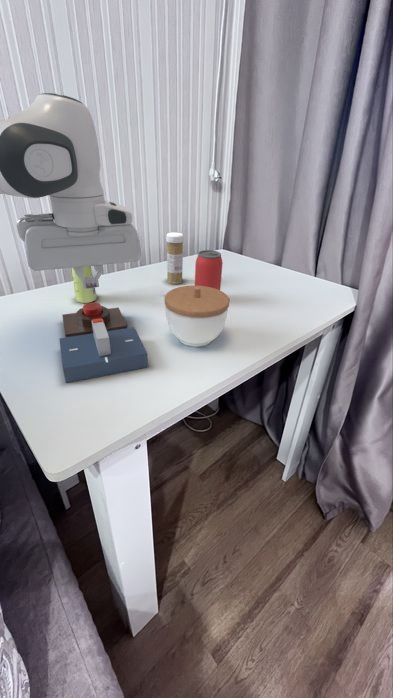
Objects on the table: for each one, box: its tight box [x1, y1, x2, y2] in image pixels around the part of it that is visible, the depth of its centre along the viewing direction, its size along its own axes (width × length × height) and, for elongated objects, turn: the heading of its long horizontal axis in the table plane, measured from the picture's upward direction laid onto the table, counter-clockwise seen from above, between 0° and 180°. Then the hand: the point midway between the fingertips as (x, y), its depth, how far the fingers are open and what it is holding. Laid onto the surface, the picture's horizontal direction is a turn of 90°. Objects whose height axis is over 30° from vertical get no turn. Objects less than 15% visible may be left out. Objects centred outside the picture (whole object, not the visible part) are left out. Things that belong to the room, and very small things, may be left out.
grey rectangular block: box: [92, 318, 111, 356], centre depth 59 cm, size 7×2×4 cm, turn 22°
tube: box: [71, 266, 98, 304], centre depth 78 cm, size 6×5×20 cm
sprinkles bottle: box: [165, 231, 184, 285], centre depth 91 cm, size 5×5×14 cm
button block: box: [61, 305, 128, 338], centre depth 69 cm, size 12×9×4 cm
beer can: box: [194, 249, 224, 291], centre depth 82 cm, size 7×7×12 cm
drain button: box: [82, 302, 102, 317], centre depth 68 cm, size 4×4×2 cm
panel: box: [59, 326, 149, 384], centre depth 60 cm, size 14×11×3 cm
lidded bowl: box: [164, 285, 230, 348], centre depth 66 cm, size 13×13×11 cm
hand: (91, 287), depth 65 cm, fingers closed
